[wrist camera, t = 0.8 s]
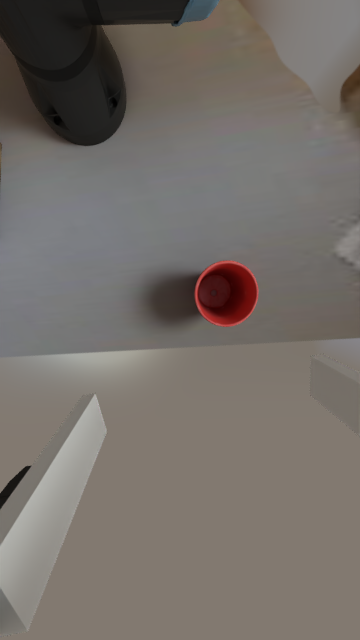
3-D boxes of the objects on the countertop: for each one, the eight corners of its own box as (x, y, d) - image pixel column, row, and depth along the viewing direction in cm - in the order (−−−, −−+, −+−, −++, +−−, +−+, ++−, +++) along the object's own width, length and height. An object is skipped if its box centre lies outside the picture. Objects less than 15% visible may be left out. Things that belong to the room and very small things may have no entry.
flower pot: (195, 322, 41) (203, 334, 31) (183, 272, 38) (187, 269, 29) (241, 309, 41) (263, 318, 31) (232, 259, 38) (252, 252, 29)
